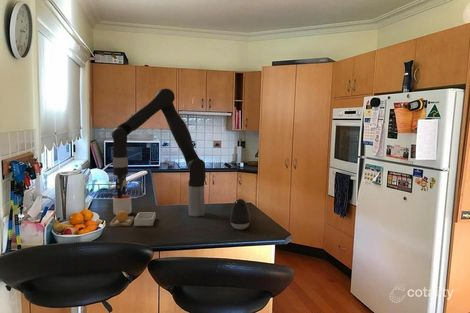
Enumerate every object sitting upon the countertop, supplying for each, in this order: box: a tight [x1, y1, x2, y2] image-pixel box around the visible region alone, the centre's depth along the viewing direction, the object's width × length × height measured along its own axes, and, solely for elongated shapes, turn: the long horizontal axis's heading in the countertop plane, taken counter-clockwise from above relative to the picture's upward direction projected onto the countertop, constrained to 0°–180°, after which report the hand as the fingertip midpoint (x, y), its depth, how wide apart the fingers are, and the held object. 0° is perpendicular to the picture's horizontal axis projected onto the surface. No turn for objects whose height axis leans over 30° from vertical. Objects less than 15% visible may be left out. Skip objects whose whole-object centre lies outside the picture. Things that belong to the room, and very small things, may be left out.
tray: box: [109, 216, 135, 227], centre depth 176 cm, size 10×12×2 cm
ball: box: [115, 211, 129, 222], centre depth 176 cm, size 6×6×6 cm
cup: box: [112, 194, 133, 216], centre depth 193 cm, size 10×10×10 cm
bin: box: [133, 211, 156, 227], centre depth 178 cm, size 9×14×4 cm
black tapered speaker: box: [229, 198, 251, 231], centre depth 168 cm, size 10×10×15 cm
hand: (121, 196), depth 175 cm, fingers open, 8 cm apart
